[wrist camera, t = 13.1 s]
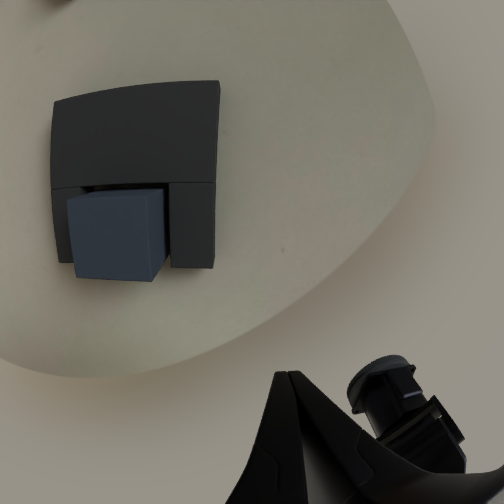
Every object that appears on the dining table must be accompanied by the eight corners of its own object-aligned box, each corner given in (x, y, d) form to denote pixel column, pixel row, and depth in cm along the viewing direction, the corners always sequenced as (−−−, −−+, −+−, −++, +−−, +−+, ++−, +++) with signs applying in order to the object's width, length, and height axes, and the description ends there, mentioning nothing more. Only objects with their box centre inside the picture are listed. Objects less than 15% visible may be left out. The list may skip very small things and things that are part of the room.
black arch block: (214, 258, 20) (212, 269, 18) (71, 254, 19) (58, 263, 17) (220, 88, 16) (219, 80, 14) (67, 105, 15) (53, 101, 13)
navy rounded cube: (170, 253, 19) (152, 282, 15) (106, 252, 19) (75, 278, 14) (168, 186, 18) (146, 195, 13) (101, 189, 18) (65, 199, 13)
